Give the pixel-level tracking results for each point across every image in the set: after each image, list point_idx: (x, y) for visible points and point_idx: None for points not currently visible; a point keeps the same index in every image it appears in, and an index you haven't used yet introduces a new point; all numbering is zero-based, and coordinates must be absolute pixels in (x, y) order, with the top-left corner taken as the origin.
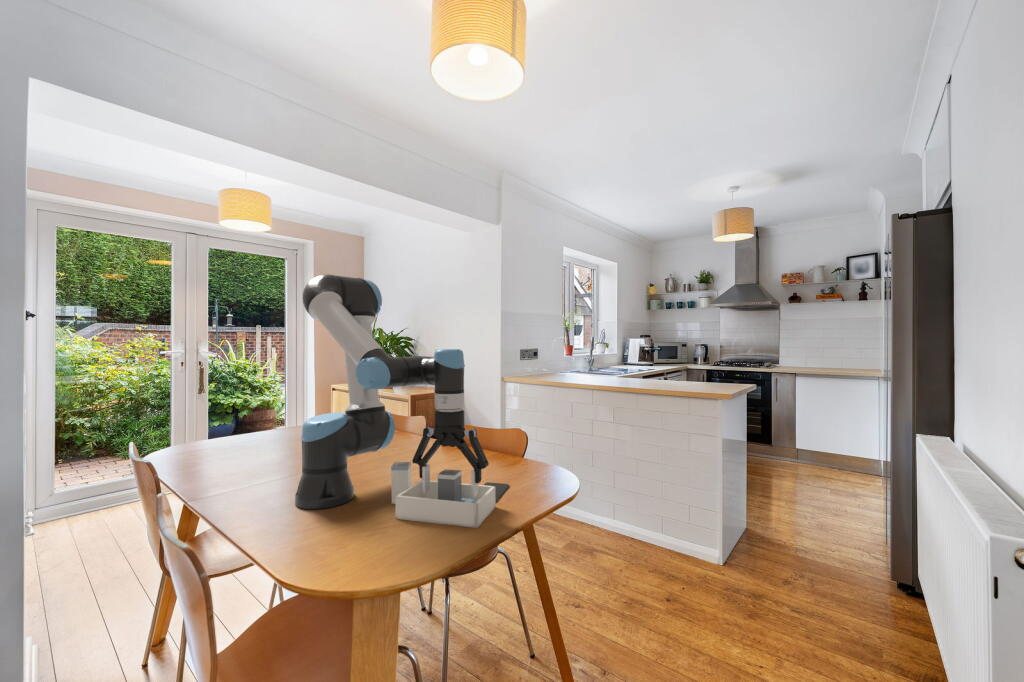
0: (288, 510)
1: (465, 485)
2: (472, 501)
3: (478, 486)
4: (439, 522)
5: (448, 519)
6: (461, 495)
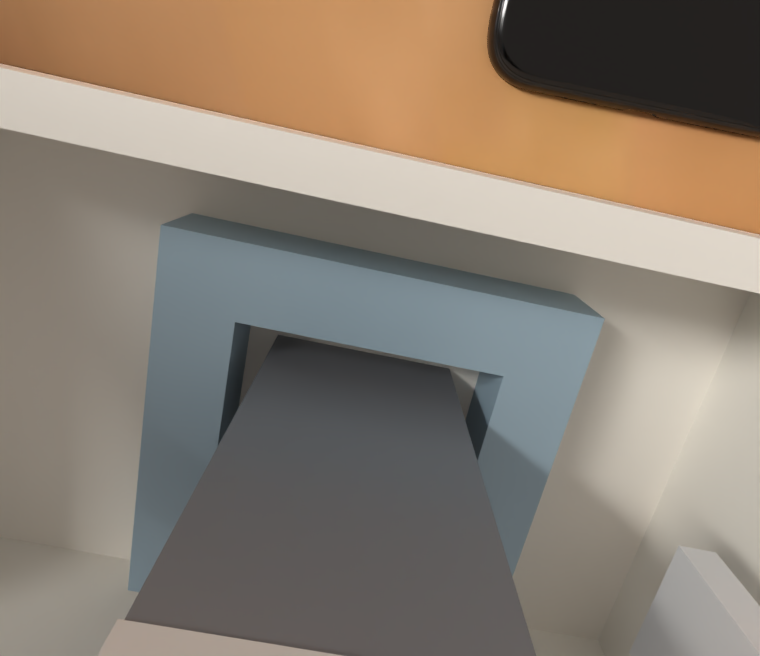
0: None
1: (515, 237)
2: (581, 372)
3: (741, 285)
4: None
5: None
6: (469, 439)
